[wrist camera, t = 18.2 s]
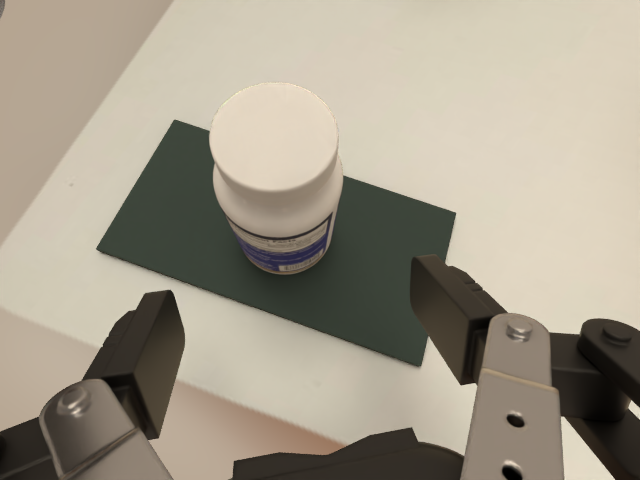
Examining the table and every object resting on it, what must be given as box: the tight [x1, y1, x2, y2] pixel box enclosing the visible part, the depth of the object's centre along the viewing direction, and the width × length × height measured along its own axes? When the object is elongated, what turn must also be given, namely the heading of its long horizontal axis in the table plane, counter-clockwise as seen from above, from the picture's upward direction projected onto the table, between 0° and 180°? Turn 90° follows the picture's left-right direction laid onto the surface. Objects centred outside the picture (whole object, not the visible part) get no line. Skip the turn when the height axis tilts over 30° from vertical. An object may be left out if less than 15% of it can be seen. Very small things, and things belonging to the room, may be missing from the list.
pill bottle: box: [209, 82, 343, 274], centre depth 17 cm, size 6×6×10 cm
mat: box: [96, 120, 456, 366], centre depth 22 cm, size 20×10×1 cm, turn 71°
